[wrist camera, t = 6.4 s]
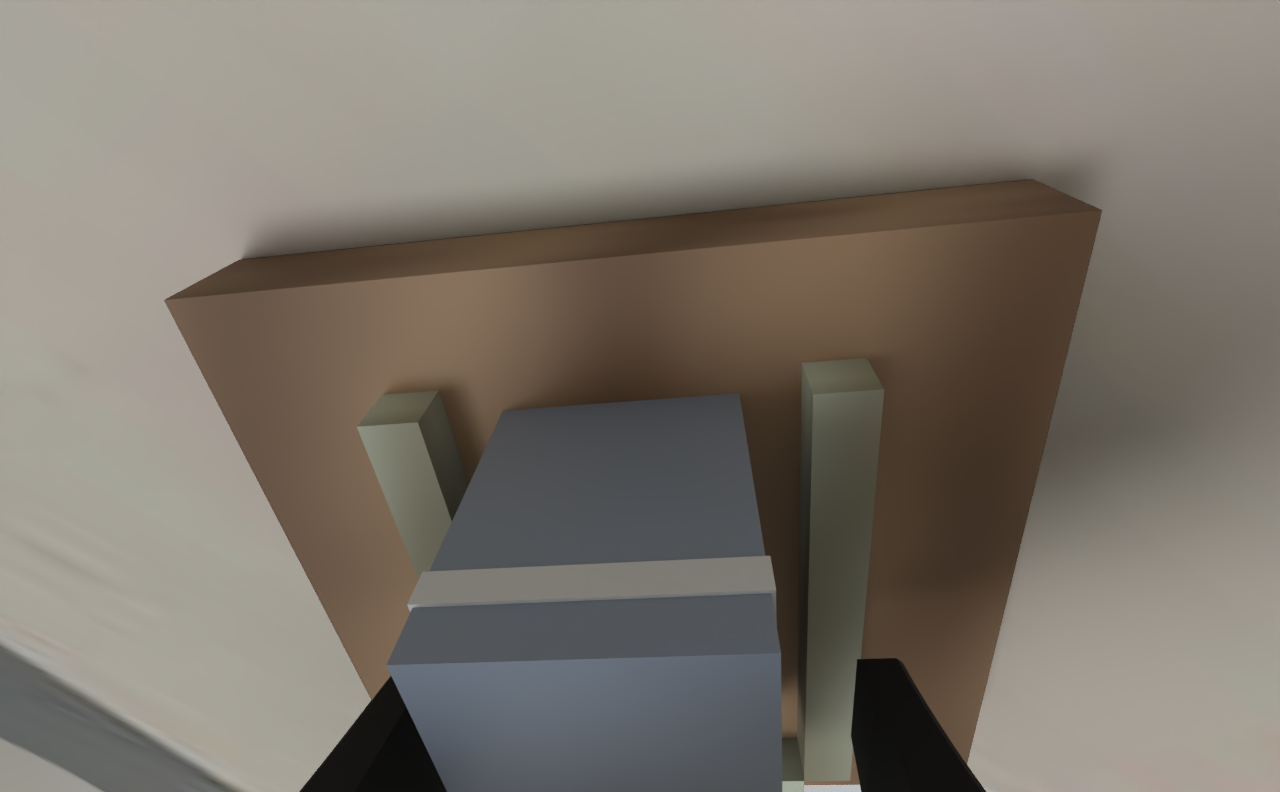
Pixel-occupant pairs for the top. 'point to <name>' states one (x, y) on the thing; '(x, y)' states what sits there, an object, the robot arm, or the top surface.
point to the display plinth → (686, 367)
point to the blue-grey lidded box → (601, 609)
